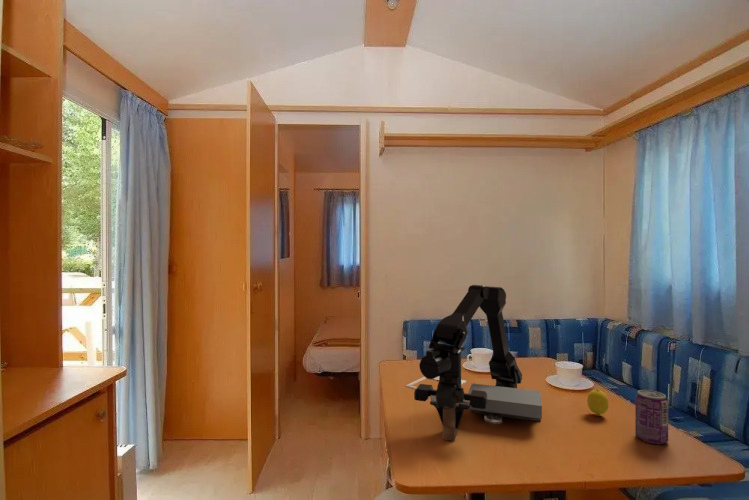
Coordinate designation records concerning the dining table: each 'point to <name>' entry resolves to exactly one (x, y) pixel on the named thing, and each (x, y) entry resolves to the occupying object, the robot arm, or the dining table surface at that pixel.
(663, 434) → the beverage can
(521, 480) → the dining table surface
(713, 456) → the dining table surface
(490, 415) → the steel token
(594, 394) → the lemon
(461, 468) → the dining table surface
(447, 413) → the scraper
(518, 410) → the grey rectangular block
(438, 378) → the photo frame
